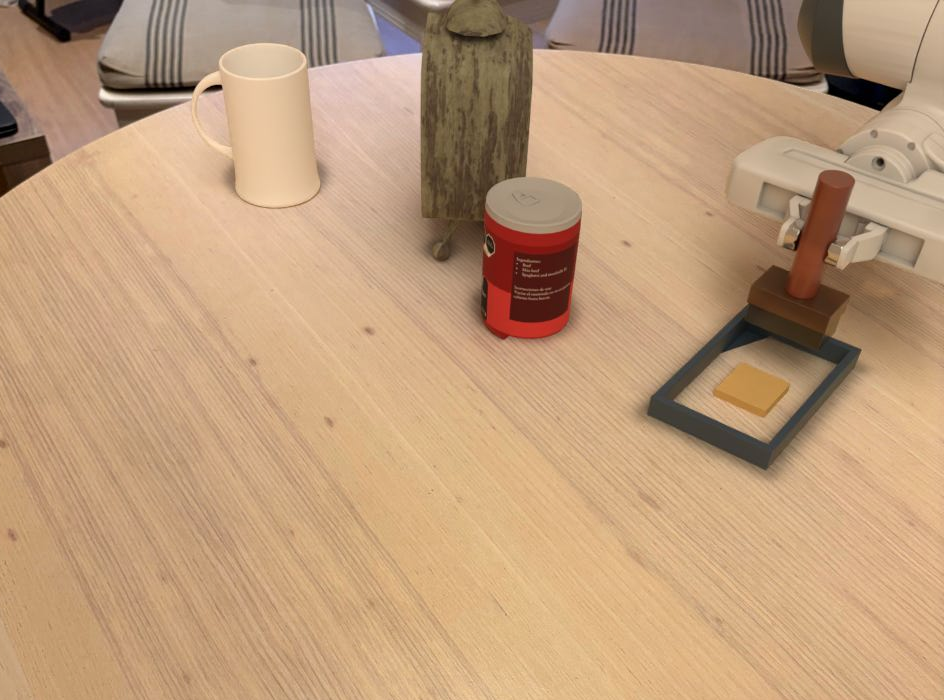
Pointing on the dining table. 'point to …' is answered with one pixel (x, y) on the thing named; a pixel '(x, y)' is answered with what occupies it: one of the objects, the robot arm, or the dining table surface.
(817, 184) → the brush
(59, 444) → the dining table surface
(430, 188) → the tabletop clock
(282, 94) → the mug
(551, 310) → the canned food
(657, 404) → the tray
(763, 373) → the tan square tile
